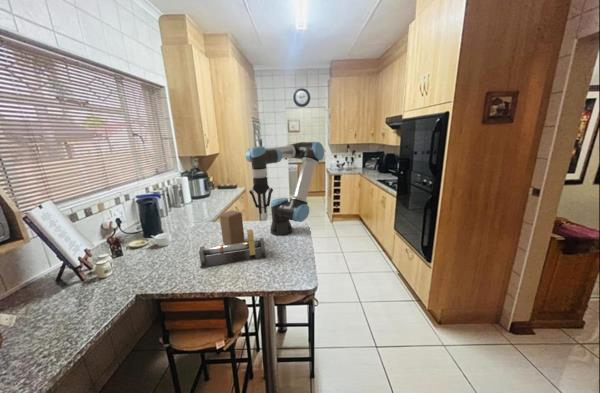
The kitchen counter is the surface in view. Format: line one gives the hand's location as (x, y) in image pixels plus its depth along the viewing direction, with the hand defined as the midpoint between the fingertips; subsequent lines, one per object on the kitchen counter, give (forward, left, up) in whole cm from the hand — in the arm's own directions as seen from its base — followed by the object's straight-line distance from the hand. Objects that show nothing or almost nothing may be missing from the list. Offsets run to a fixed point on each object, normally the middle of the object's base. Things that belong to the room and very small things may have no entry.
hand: (263, 218), depth 136 cm
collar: (+8, 0, -19) cm, 20 cm away
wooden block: (+18, -20, -21) cm, 34 cm away
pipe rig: (+18, 0, -21) cm, 27 cm away
